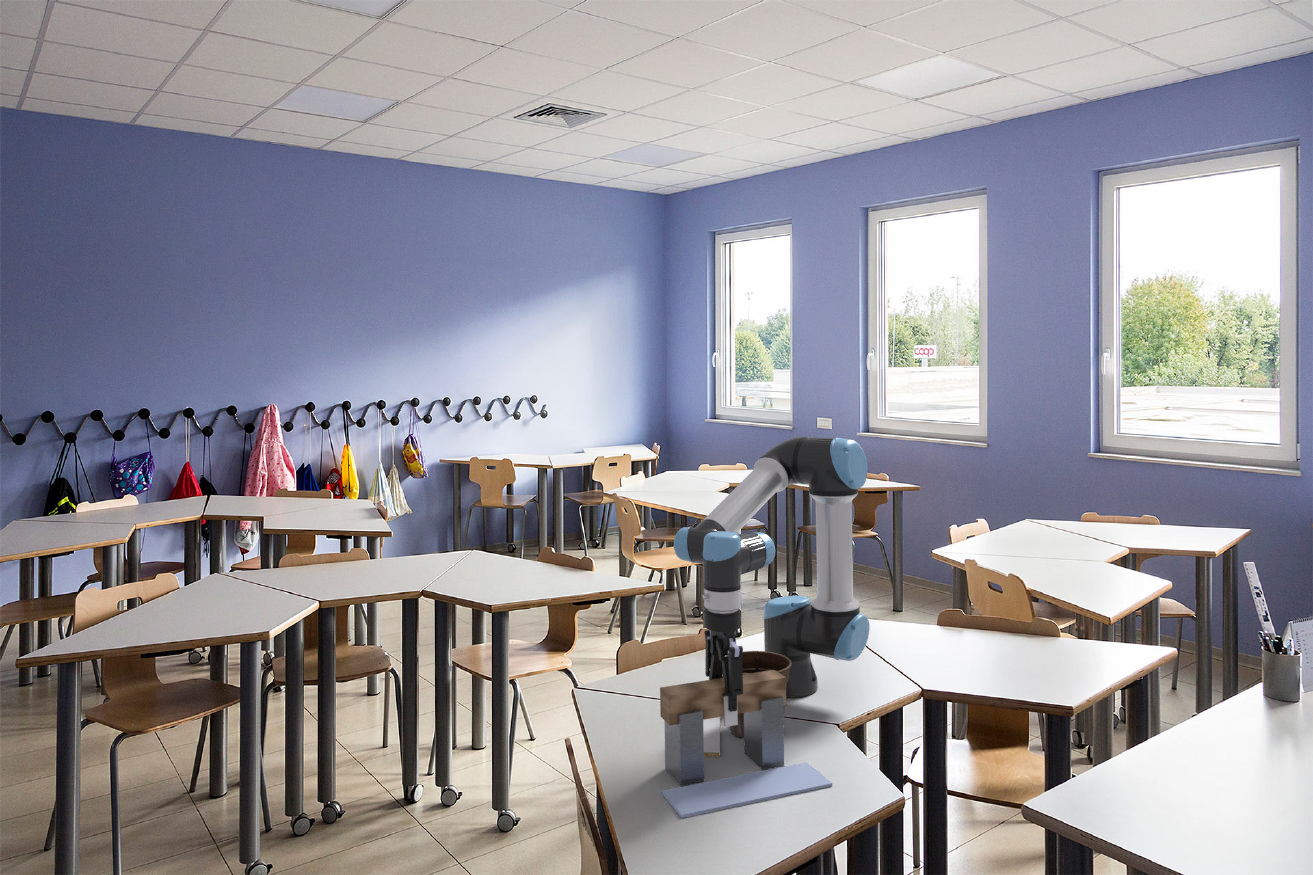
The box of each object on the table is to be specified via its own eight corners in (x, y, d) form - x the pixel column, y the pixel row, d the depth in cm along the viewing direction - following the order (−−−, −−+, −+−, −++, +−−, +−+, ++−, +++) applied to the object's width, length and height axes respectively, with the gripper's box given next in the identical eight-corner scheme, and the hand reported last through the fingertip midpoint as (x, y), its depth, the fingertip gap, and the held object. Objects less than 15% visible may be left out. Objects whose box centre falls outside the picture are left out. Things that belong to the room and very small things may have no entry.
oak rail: (774, 697, 187) (774, 669, 187) (786, 705, 182) (785, 677, 182) (660, 716, 178) (659, 687, 178) (669, 725, 173) (668, 695, 173)
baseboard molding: (663, 758, 187) (720, 759, 186) (663, 745, 187) (719, 746, 186) (671, 702, 218) (720, 703, 217) (671, 691, 218) (720, 691, 217)
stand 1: (687, 764, 183) (686, 696, 182) (704, 781, 175) (703, 711, 174) (665, 768, 181) (664, 700, 180) (680, 786, 173) (679, 715, 172)
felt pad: (806, 764, 182) (806, 761, 182) (832, 785, 172) (832, 782, 172) (661, 793, 170) (661, 790, 170) (681, 817, 161) (681, 814, 161)
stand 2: (765, 749, 189) (764, 683, 188) (784, 766, 181) (783, 697, 180) (744, 753, 187) (743, 687, 186) (762, 770, 179) (761, 701, 178)
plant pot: (710, 721, 205) (709, 653, 203) (774, 712, 209) (774, 646, 208) (735, 750, 189) (734, 677, 188) (804, 740, 193) (803, 668, 192)
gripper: (687, 599, 186) (689, 705, 188) (725, 622, 168) (726, 739, 170) (720, 595, 189) (721, 700, 190) (760, 618, 171) (761, 733, 173)
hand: (724, 719), depth 180 cm, fingers open, 6 cm apart
